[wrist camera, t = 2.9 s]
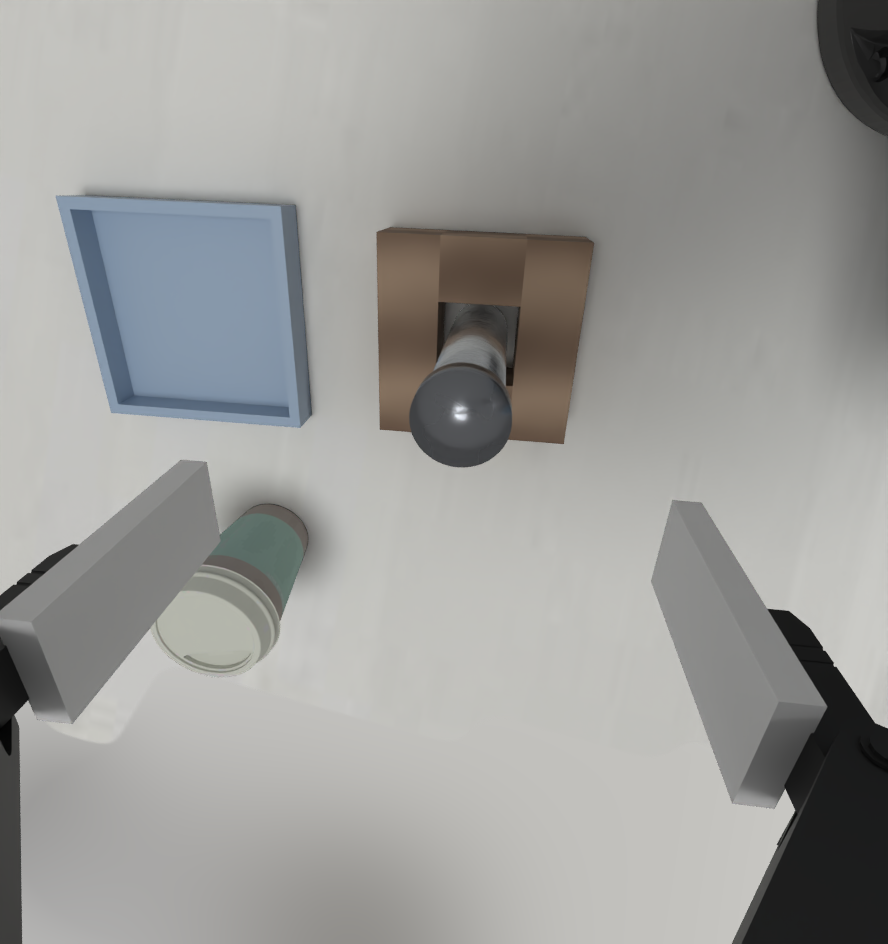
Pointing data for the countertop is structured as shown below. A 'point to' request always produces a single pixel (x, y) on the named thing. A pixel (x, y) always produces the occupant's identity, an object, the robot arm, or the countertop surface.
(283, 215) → the tray
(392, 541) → the countertop surface
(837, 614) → the countertop surface
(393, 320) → the socket block
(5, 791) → the robot arm
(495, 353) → the pin
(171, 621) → the coffee cup
